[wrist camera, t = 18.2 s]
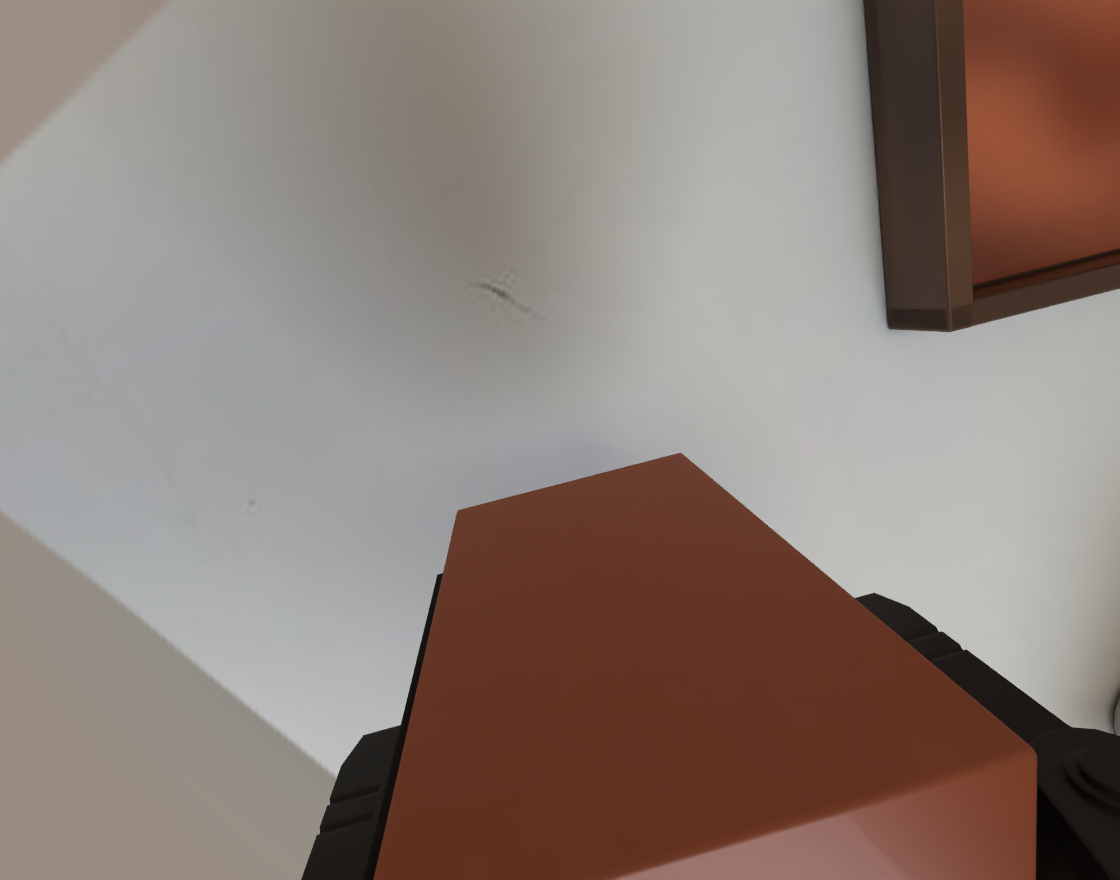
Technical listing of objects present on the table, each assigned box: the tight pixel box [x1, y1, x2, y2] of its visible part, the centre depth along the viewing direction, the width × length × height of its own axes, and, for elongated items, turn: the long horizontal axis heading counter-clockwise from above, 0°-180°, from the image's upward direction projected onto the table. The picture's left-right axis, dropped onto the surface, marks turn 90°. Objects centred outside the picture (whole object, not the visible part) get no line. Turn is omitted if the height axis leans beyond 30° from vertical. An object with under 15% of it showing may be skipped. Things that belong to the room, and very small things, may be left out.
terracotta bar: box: [374, 453, 1037, 880], centre depth 8 cm, size 5×5×8 cm
